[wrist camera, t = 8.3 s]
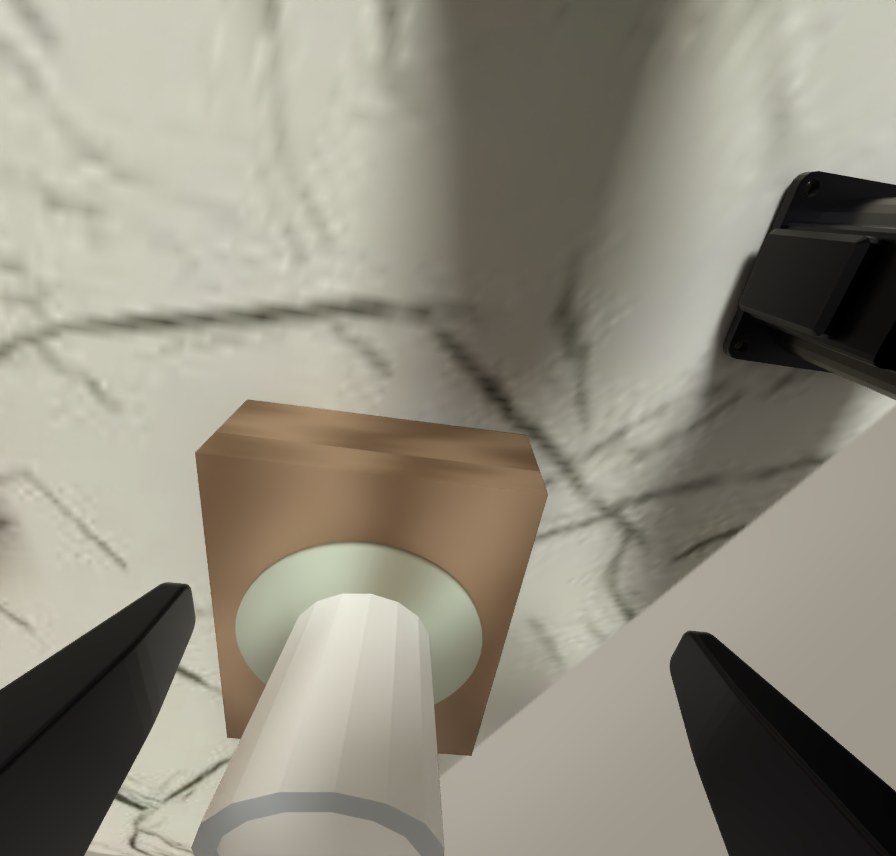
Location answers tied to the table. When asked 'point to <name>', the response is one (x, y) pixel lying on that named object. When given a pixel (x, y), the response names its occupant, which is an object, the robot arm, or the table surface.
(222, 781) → the white cup
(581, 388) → the table surface
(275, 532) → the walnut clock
